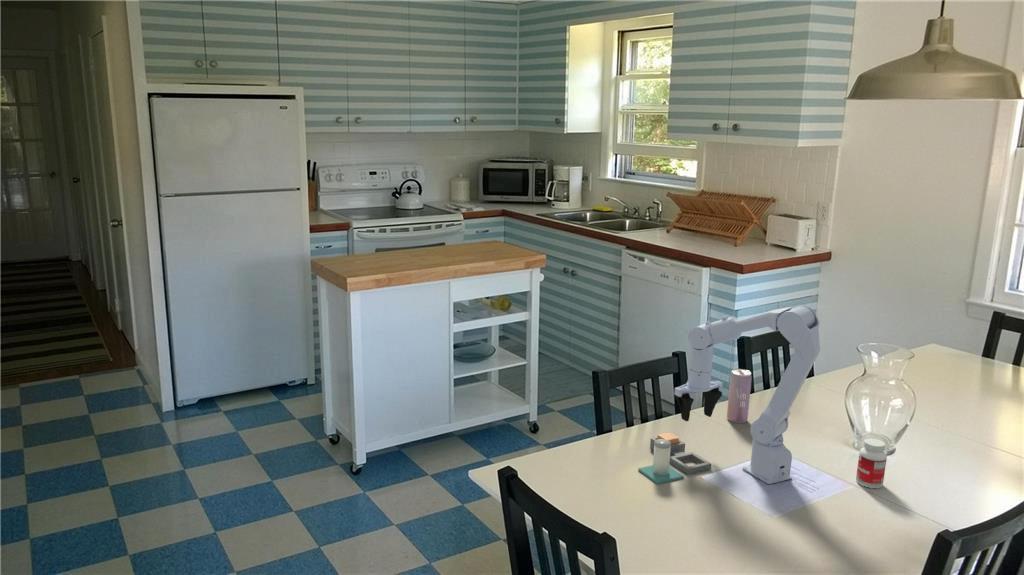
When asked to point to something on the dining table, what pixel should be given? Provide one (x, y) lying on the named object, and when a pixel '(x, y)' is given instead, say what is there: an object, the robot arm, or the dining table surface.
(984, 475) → the dining table surface
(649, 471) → the mat
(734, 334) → the robot arm
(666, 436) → the orange cube
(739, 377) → the beverage can
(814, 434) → the dining table surface
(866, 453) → the pill bottle
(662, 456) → the cylinder
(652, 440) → the housing
